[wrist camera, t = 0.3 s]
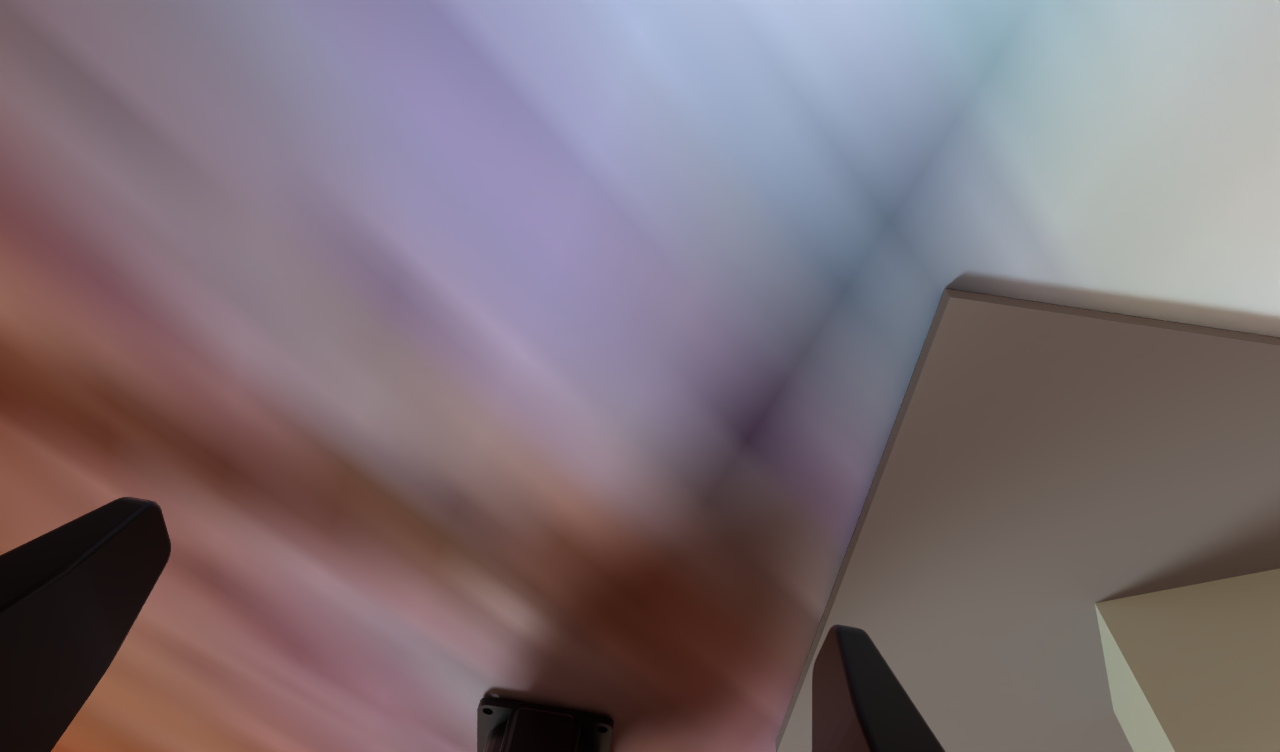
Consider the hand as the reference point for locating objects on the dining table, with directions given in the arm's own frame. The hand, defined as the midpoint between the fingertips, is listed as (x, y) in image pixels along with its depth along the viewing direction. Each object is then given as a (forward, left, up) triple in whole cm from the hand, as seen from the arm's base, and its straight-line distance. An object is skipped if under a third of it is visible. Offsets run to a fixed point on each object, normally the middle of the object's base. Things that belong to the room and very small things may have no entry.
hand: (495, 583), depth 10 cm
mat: (-13, -20, -15) cm, 28 cm away
